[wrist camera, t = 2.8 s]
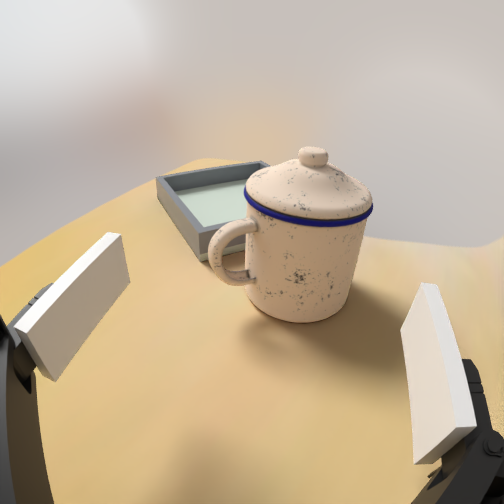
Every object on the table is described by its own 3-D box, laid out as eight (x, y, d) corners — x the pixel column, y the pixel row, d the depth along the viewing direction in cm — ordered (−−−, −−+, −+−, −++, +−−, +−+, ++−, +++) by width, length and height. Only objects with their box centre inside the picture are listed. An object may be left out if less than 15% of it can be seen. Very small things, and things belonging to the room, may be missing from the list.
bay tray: (260, 179, 47) (261, 160, 46) (331, 227, 36) (335, 203, 34) (157, 198, 41) (155, 177, 39) (200, 261, 29) (198, 233, 28)
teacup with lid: (308, 248, 32) (323, 132, 25) (371, 303, 25) (408, 167, 19) (192, 281, 27) (183, 143, 21) (239, 359, 20) (243, 188, 14)
